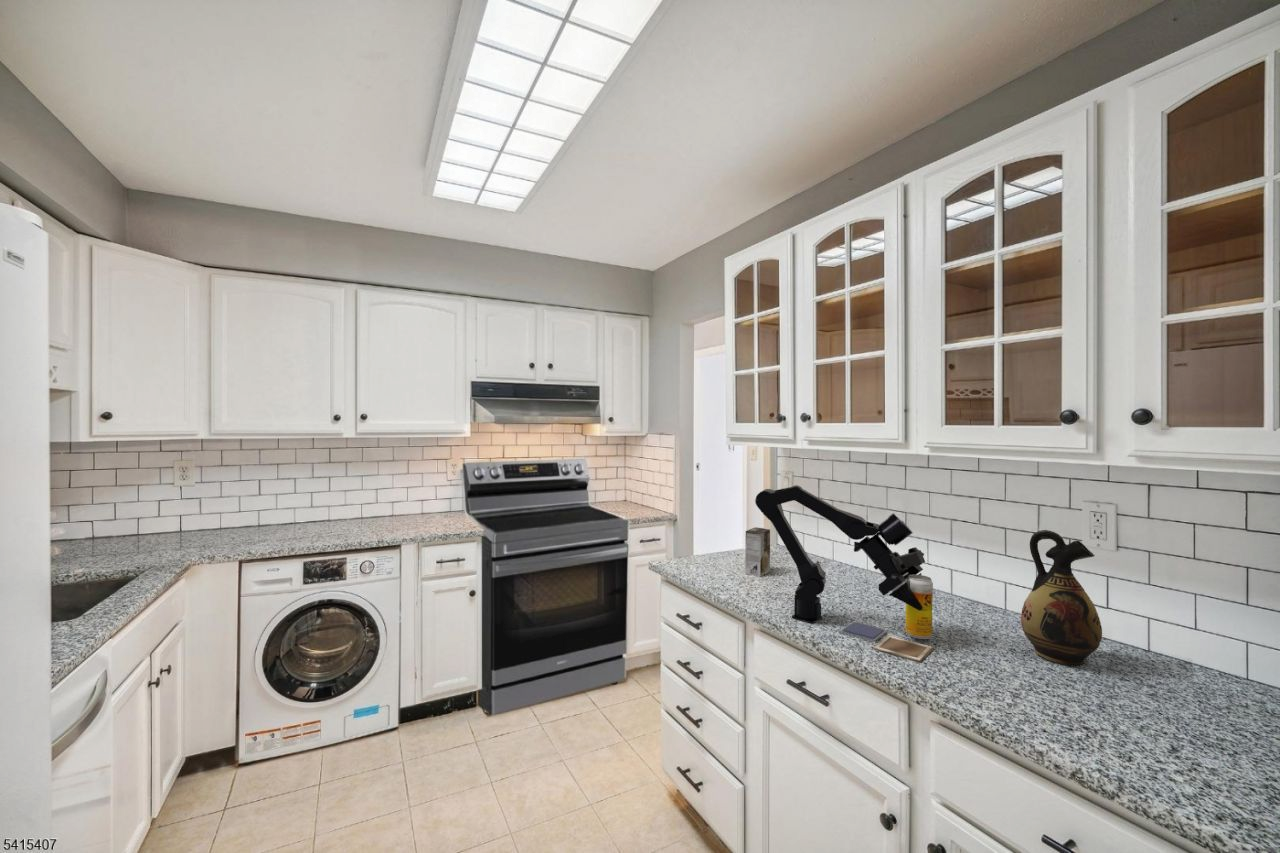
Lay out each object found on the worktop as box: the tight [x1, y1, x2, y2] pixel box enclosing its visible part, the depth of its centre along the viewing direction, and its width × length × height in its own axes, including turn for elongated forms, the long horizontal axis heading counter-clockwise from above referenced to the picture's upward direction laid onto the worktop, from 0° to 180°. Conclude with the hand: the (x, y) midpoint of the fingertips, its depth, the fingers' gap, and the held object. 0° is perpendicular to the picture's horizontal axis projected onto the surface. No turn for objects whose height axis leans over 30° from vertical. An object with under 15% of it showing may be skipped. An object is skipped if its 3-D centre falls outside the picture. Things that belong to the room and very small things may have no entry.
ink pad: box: [839, 621, 888, 643], centre depth 145 cm, size 9×9×1 cm
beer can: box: [904, 574, 934, 640], centre depth 141 cm, size 6×6×15 cm
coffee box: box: [744, 526, 771, 577], centre depth 203 cm, size 9×6×16 cm
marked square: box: [872, 635, 935, 664], centre depth 135 cm, size 11×11×1 cm
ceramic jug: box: [1012, 529, 1103, 667], centre depth 131 cm, size 17×15×30 cm
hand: (925, 606), depth 140 cm, fingers closed on beer can, 6 cm apart
